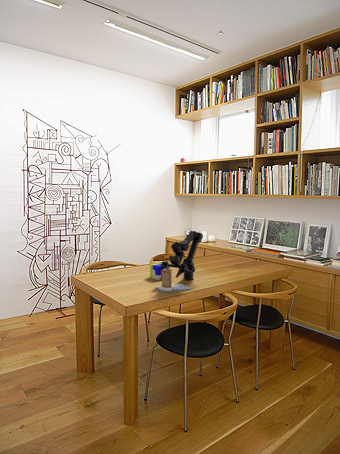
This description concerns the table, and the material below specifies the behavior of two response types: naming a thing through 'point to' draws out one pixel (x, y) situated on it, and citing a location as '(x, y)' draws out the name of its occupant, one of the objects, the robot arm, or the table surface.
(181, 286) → the blueprint board
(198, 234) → the robot arm
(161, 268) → the puzzle toy
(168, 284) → the pillar
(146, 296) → the table surface
